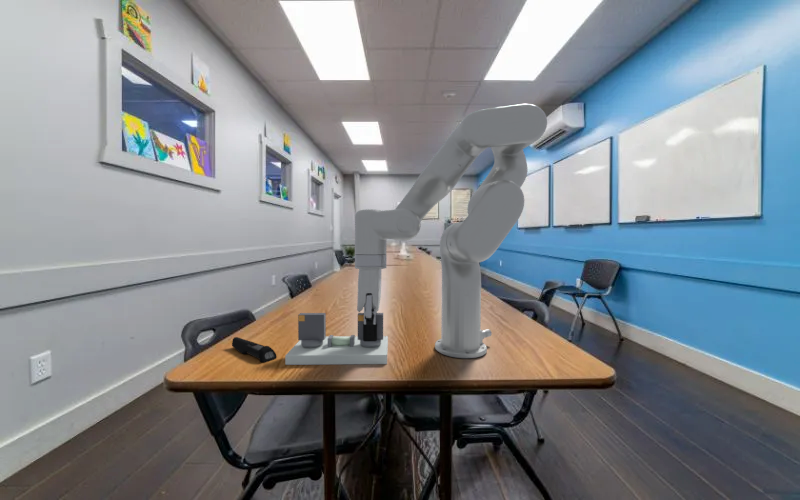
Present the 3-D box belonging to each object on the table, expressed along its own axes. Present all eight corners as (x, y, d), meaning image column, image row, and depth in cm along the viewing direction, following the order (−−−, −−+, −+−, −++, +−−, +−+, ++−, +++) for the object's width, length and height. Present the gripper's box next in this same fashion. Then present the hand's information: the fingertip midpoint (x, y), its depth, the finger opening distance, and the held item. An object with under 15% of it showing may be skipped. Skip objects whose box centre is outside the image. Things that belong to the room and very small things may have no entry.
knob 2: (383, 340, 74) (383, 311, 73) (382, 347, 69) (382, 316, 68) (359, 340, 73) (359, 311, 73) (356, 347, 68) (356, 316, 68)
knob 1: (327, 340, 73) (327, 311, 73) (322, 347, 68) (322, 316, 68) (302, 340, 73) (302, 311, 73) (296, 347, 68) (296, 316, 68)
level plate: (387, 343, 78) (387, 328, 78) (386, 364, 65) (386, 345, 65) (303, 344, 77) (303, 328, 77) (285, 364, 64) (285, 346, 64)
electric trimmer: (243, 346, 77) (243, 334, 77) (278, 359, 68) (277, 345, 68) (227, 350, 74) (227, 338, 74) (262, 364, 65) (262, 350, 65)
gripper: (358, 260, 79) (358, 328, 79) (350, 264, 62) (350, 351, 63) (387, 260, 79) (386, 328, 79) (385, 264, 63) (385, 350, 63)
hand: (370, 337), depth 71 cm, fingers open, 2 cm apart
